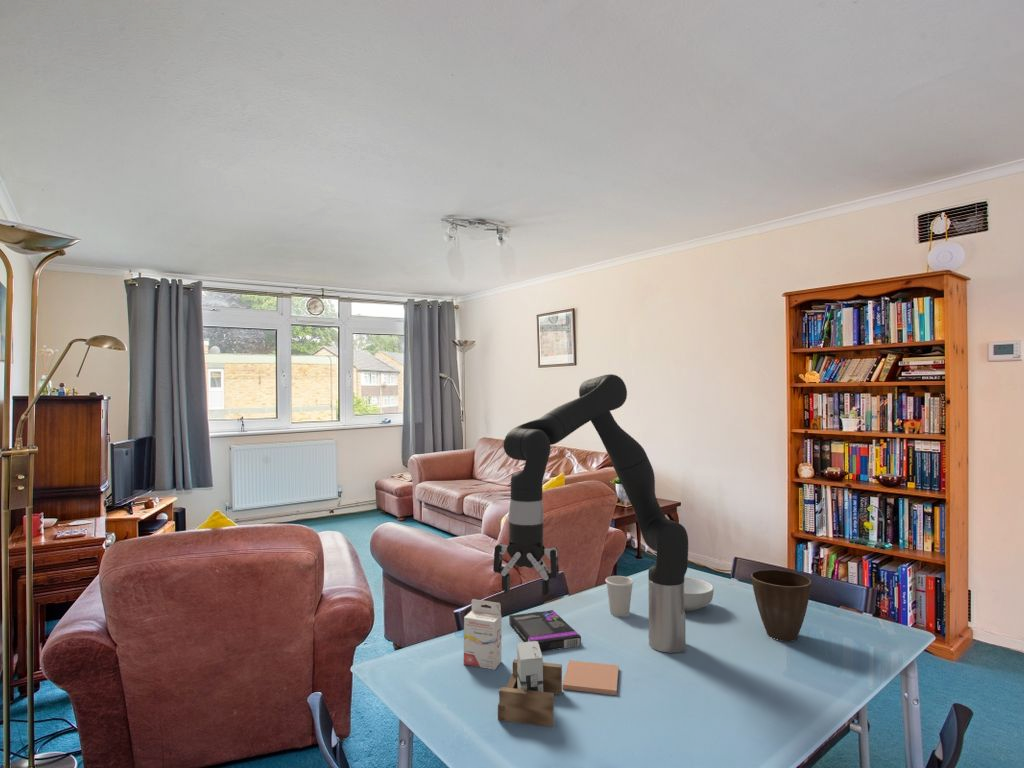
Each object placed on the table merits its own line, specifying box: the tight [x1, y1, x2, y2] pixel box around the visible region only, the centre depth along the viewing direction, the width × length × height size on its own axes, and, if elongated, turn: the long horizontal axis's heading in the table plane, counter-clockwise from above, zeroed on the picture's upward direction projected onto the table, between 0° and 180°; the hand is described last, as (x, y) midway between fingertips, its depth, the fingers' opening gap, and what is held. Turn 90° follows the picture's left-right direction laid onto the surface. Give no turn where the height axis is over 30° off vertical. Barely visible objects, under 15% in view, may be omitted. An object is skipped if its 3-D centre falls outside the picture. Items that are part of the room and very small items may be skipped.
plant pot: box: [750, 569, 812, 642], centre depth 156 cm, size 15×15×16 cm
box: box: [508, 609, 582, 653], centre depth 157 cm, size 14×4×20 cm
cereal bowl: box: [684, 576, 714, 612], centre depth 178 cm, size 17×17×7 cm
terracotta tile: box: [562, 659, 619, 696], centre depth 132 cm, size 12×12×1 cm
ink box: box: [516, 641, 544, 692], centre depth 122 cm, size 9×5×12 cm, turn 5°
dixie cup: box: [604, 575, 634, 618], centre depth 172 cm, size 8×8×10 cm
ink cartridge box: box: [463, 598, 503, 671], centre depth 140 cm, size 9×5×15 cm, turn 71°
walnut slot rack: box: [497, 658, 563, 728], centre depth 121 cm, size 11×14×6 cm
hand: (525, 594), depth 124 cm, fingers open, 8 cm apart
